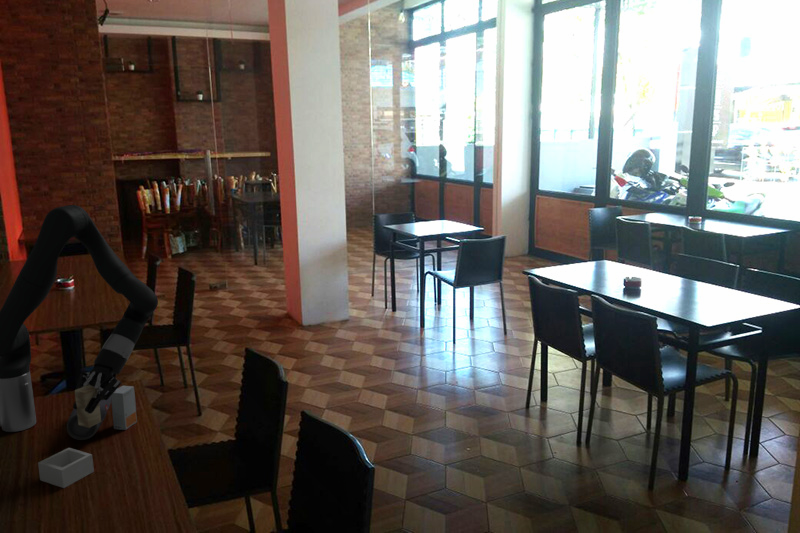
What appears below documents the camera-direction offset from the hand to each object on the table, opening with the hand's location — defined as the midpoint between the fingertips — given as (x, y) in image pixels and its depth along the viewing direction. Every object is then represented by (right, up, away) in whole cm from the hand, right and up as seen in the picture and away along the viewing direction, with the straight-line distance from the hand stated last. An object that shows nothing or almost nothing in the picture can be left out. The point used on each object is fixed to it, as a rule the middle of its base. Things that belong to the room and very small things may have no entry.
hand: (82, 410), depth 169 cm
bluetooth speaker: (-10, -11, +26) cm, 30 cm away
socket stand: (-3, -17, -2) cm, 17 cm away
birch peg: (+1, -4, +3) cm, 5 cm away
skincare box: (0, -11, +27) cm, 29 cm away
